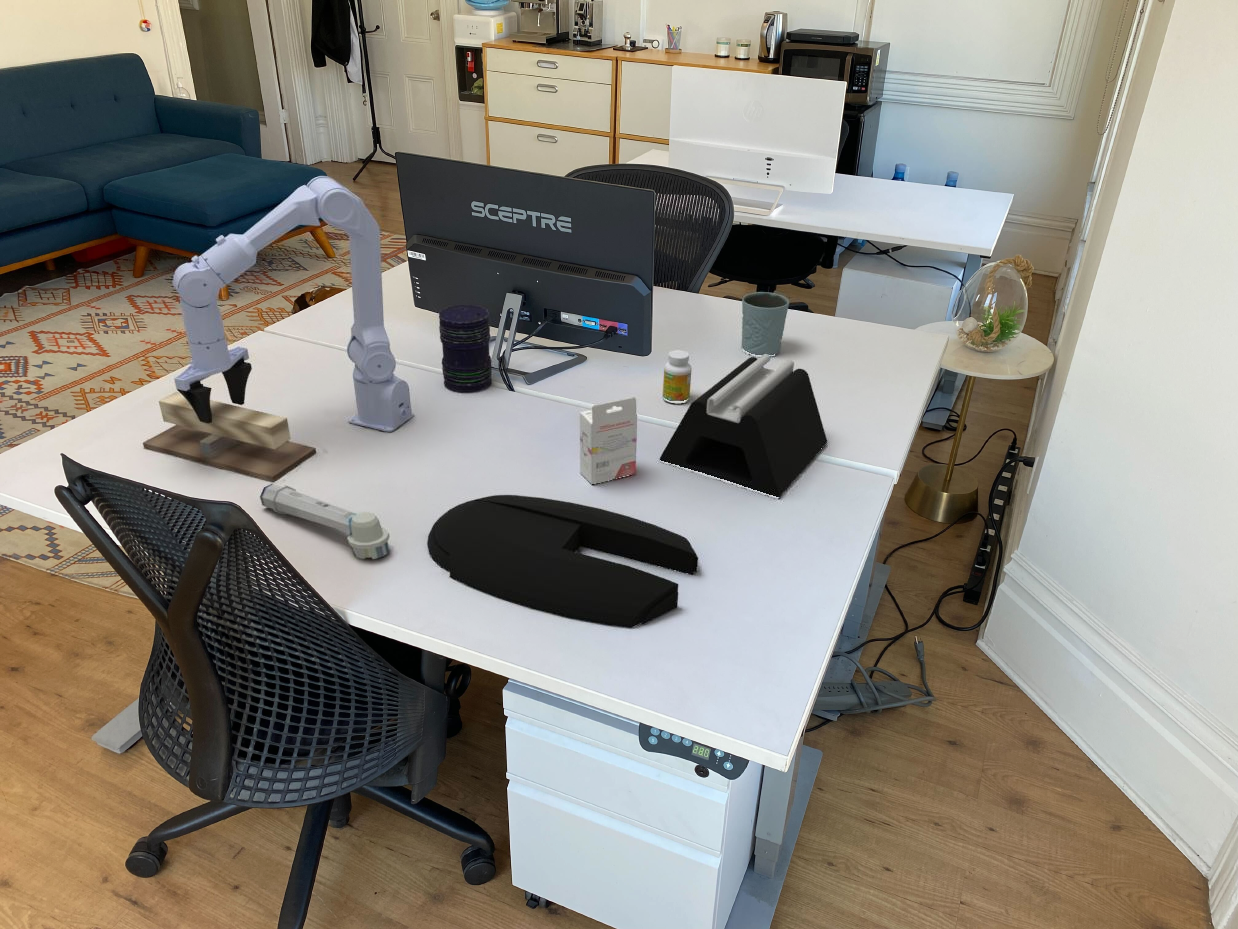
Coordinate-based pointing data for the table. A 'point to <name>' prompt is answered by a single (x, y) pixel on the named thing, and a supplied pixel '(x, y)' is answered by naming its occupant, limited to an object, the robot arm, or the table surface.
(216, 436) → the ridge
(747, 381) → the device stand
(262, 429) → the beech rod
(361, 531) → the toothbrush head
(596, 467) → the ink cartridge box
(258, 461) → the board
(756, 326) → the embossed green cup
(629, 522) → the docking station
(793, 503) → the table surface
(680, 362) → the supplement bottle
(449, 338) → the storage jar
